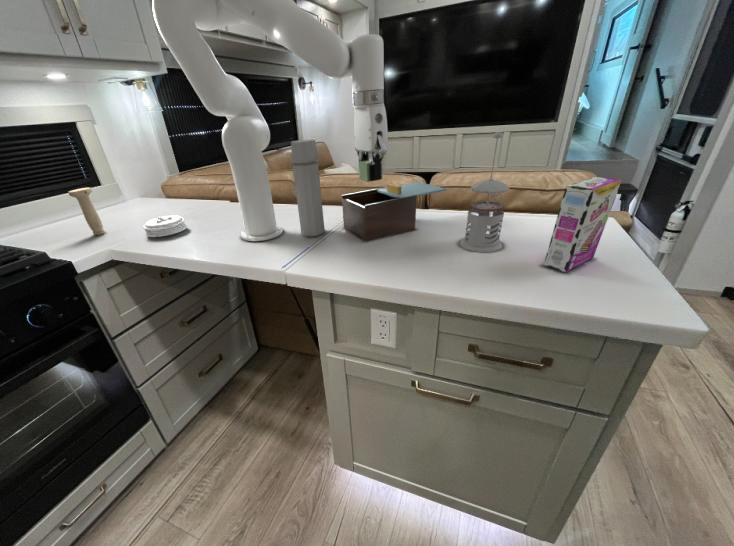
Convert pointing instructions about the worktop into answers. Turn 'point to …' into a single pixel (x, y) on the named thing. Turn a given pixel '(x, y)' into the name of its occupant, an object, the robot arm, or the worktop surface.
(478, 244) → the french press
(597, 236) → the candy bar box
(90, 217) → the handle
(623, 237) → the worktop surface
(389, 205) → the walnut box
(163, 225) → the lid
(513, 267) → the worktop surface
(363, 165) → the block
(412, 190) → the sliding box cover
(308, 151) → the water bottle
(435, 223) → the worktop surface
